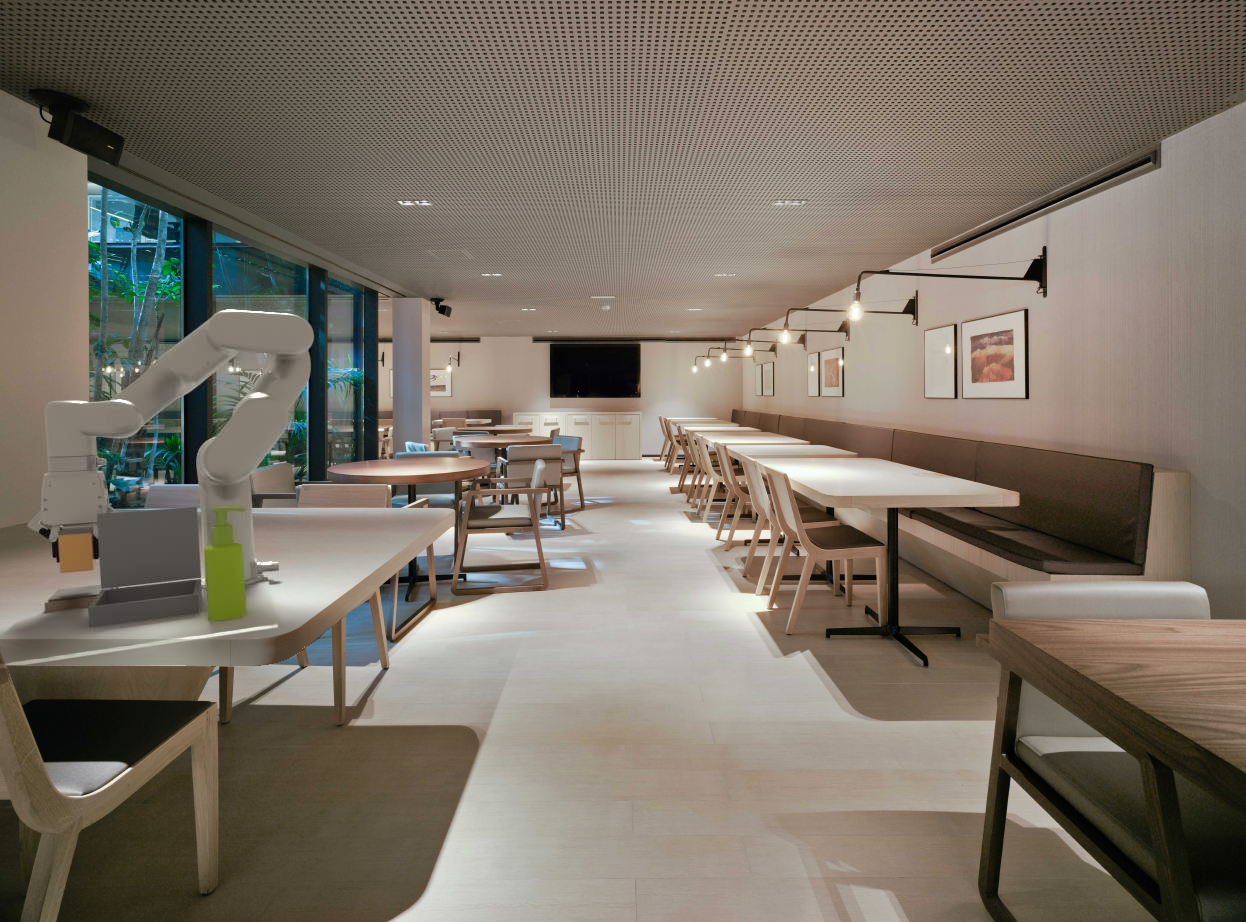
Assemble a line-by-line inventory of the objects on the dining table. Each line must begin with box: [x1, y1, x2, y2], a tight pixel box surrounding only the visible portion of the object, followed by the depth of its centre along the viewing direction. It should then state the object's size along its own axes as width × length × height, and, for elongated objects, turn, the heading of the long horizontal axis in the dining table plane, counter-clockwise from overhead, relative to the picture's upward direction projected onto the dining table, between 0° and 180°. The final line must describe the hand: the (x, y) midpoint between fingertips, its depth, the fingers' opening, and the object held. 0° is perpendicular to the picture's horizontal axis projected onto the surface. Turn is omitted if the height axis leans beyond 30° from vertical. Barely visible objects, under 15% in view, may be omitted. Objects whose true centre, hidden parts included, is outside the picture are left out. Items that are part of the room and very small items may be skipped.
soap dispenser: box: [203, 506, 247, 622], centre depth 125 cm, size 6×7×20 cm
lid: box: [97, 506, 202, 589], centre depth 137 cm, size 16×14×1 cm
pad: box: [44, 584, 119, 613], centre depth 138 cm, size 10×10×3 cm
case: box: [87, 578, 203, 629], centre depth 130 cm, size 16×14×4 cm
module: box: [58, 525, 98, 574], centre depth 137 cm, size 5×5×8 cm
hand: (78, 558), depth 137 cm, fingers closed on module, 5 cm apart
